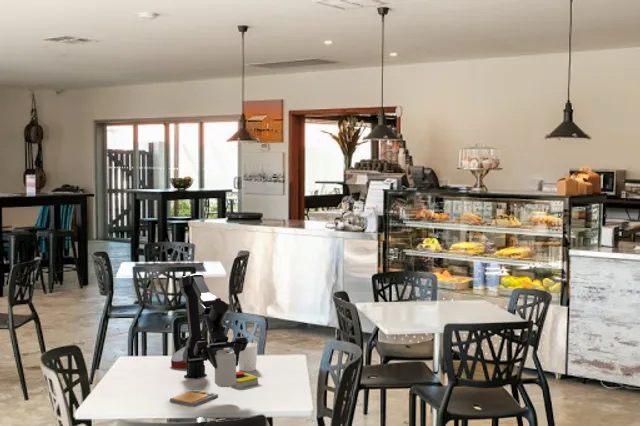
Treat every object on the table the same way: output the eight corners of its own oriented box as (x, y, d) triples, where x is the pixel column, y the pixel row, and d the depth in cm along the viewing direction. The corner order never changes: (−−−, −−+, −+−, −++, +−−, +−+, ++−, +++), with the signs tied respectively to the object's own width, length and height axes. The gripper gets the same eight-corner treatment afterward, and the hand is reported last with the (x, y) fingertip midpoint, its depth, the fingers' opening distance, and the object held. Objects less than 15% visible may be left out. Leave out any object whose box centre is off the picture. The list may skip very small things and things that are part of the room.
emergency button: (239, 367, 319) (262, 375, 308) (239, 378, 319) (262, 386, 308) (219, 371, 313) (242, 379, 302) (219, 383, 313) (242, 391, 302)
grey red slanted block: (193, 378, 335) (193, 360, 329) (168, 376, 335) (168, 357, 329) (198, 359, 344) (198, 341, 339) (174, 357, 344) (174, 339, 339)
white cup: (261, 368, 332) (261, 344, 331) (249, 373, 326) (249, 348, 325) (245, 365, 336) (245, 341, 336) (233, 370, 330) (233, 345, 329)
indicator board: (169, 401, 289) (169, 397, 288) (194, 392, 300) (194, 388, 299) (193, 406, 283) (193, 402, 283) (217, 396, 294) (217, 392, 294)
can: (239, 382, 291) (239, 349, 290) (230, 388, 284) (230, 354, 283) (220, 380, 293) (220, 347, 292) (211, 386, 286) (210, 352, 285)
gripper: (235, 338, 305) (246, 375, 296) (186, 344, 297) (196, 382, 288) (242, 322, 297) (254, 359, 288) (192, 327, 289) (202, 365, 280)
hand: (226, 366), depth 287 cm, fingers closed on can, 7 cm apart
